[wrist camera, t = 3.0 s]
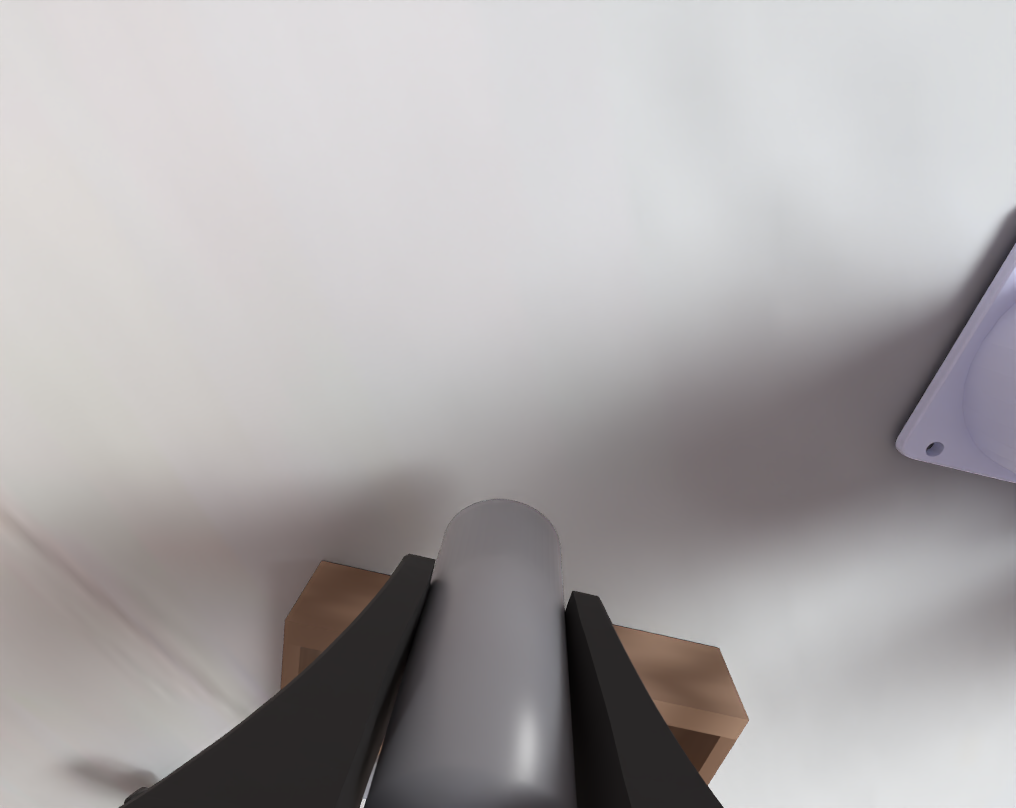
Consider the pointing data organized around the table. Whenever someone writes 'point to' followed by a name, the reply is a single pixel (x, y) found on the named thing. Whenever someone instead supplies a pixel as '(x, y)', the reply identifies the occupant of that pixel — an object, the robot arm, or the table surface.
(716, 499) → the table surface
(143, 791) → the headset
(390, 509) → the table surface
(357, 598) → the socket block
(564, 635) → the peg
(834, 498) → the table surface
